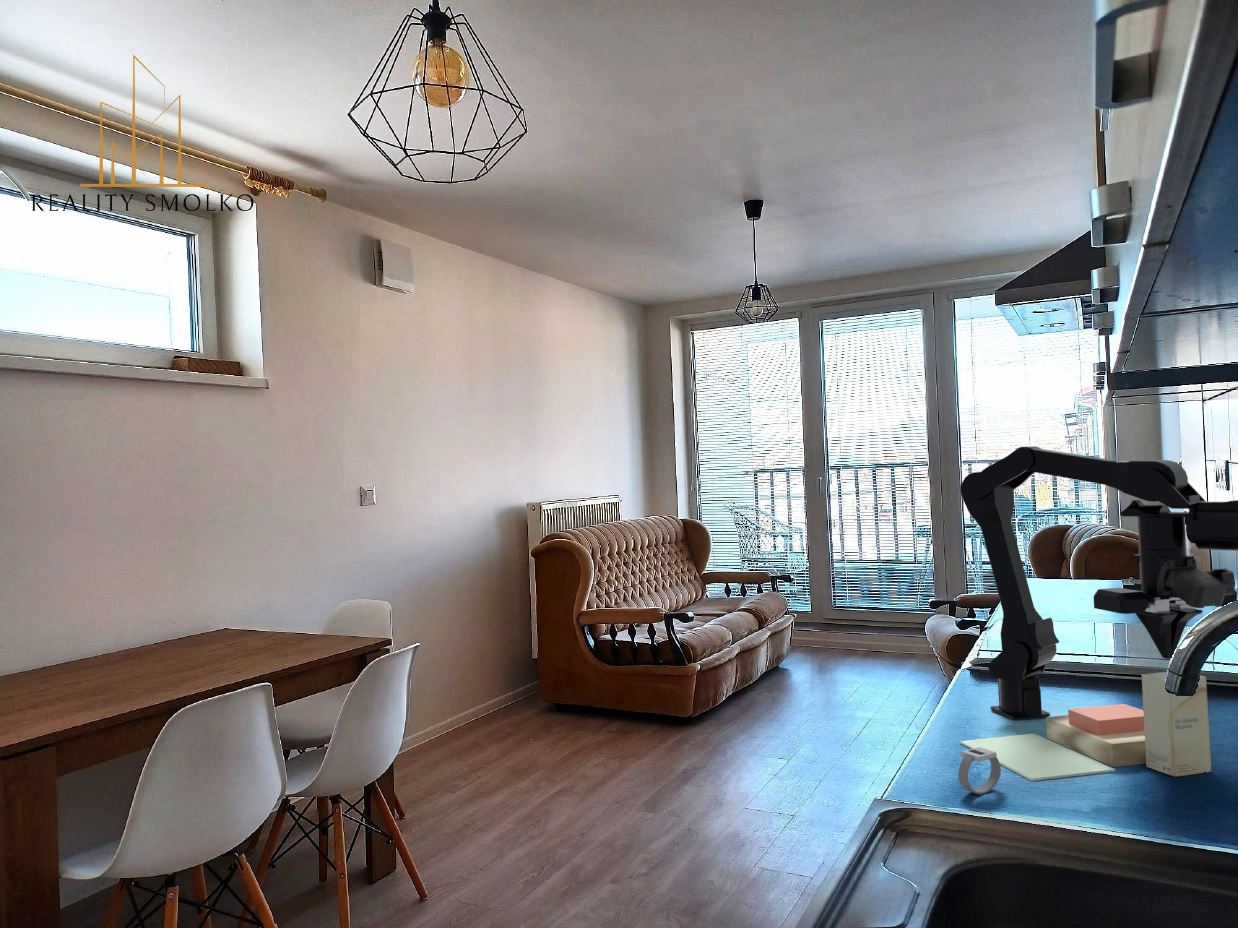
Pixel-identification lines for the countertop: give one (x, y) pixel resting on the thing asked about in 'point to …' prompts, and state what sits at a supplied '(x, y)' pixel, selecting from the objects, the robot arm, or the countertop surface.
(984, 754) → the wristwatch
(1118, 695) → the countertop surface
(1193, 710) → the skincare box
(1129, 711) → the salmon pink brick
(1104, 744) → the board
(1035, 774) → the mat
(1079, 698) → the countertop surface
